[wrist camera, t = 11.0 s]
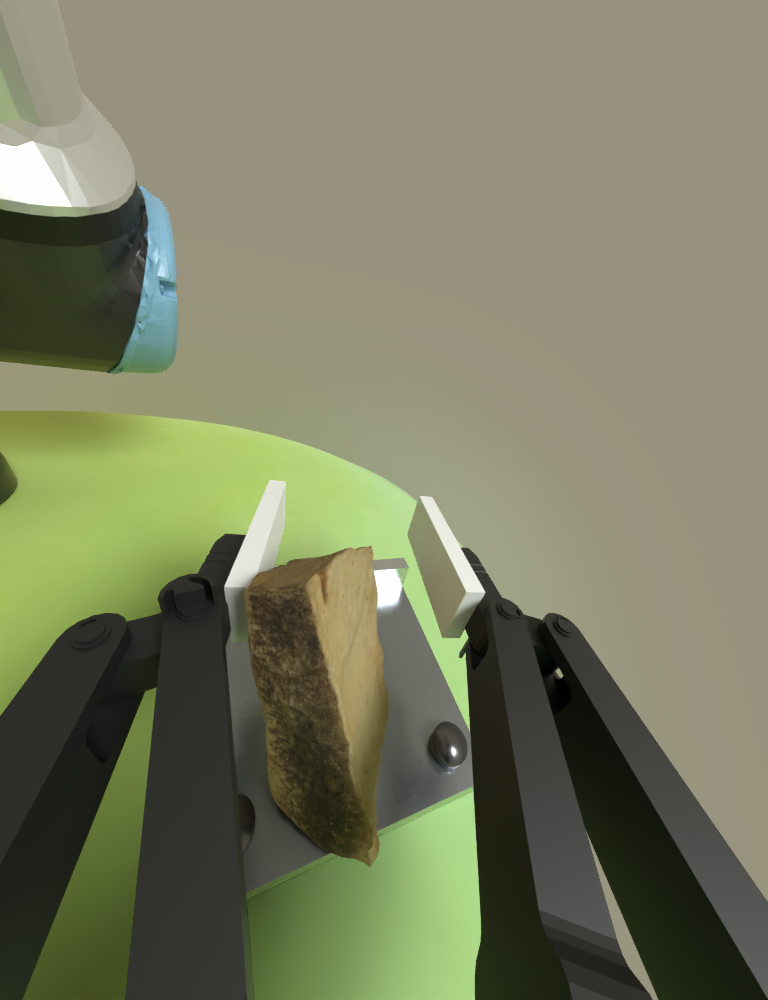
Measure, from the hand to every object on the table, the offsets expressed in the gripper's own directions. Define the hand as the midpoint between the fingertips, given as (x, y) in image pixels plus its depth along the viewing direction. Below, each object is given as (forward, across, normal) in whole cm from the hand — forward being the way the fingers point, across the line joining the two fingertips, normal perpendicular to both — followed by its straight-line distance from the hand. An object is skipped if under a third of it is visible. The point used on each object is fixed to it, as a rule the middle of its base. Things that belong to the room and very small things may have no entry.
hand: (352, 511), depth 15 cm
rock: (-5, 0, -8) cm, 9 cm away
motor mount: (-4, 0, -9) cm, 10 cm away
